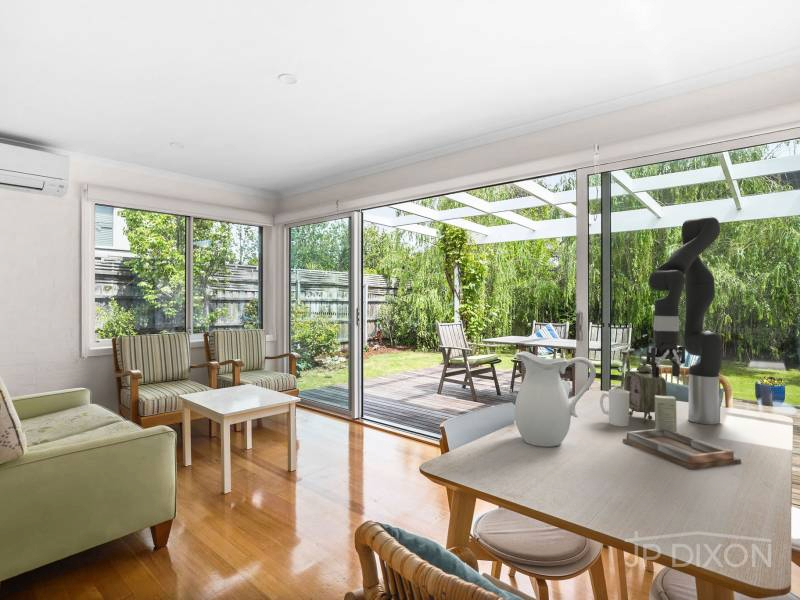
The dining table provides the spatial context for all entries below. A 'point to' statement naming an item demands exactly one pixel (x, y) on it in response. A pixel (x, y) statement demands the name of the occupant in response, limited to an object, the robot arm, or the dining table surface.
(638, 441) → the wooden tray
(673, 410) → the skincare box
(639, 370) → the tabletop clock
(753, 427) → the dining table surface
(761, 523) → the dining table surface
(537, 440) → the pitcher
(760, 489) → the dining table surface
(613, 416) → the mug
